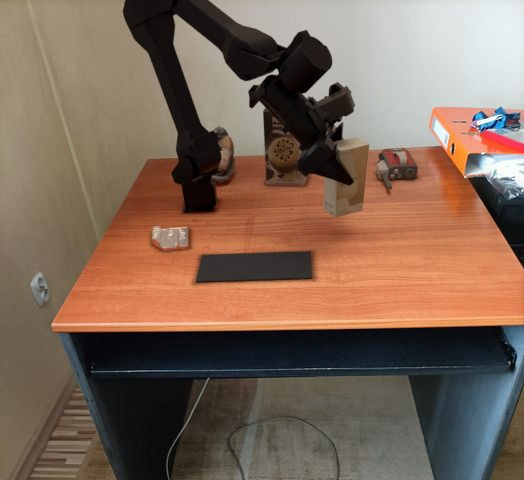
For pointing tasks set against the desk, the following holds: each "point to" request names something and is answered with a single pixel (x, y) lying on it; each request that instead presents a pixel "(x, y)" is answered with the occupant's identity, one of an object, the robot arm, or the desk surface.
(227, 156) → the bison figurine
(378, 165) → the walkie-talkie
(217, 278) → the mat
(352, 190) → the cosmetic box
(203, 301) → the desk surface
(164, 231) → the stamped metal plate
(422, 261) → the desk surface
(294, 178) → the coffee box
